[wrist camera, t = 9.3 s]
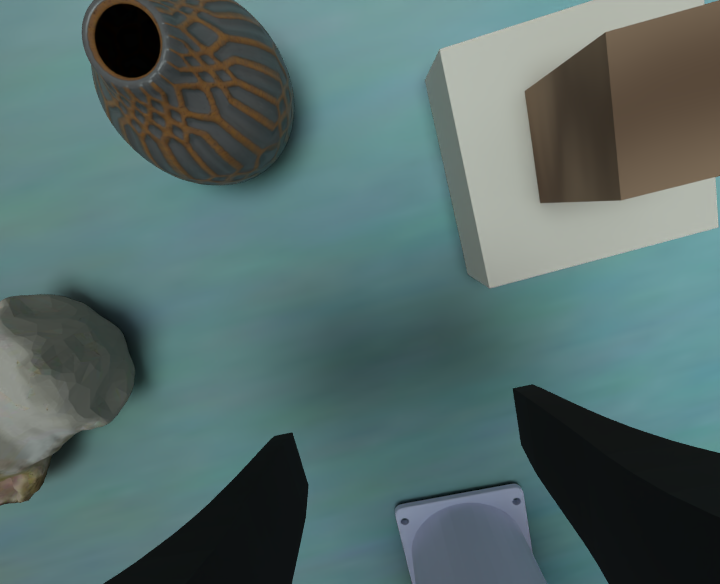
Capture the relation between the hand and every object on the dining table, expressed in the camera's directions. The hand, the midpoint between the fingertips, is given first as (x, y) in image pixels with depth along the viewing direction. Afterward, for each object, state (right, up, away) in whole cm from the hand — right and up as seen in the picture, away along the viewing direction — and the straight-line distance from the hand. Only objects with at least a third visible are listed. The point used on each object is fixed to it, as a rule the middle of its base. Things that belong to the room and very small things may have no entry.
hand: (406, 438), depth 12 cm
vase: (-8, +13, +7) cm, 17 cm away
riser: (+8, +12, +7) cm, 16 cm away
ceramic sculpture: (-20, 0, +10) cm, 22 cm away
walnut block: (+8, +11, +3) cm, 14 cm away
